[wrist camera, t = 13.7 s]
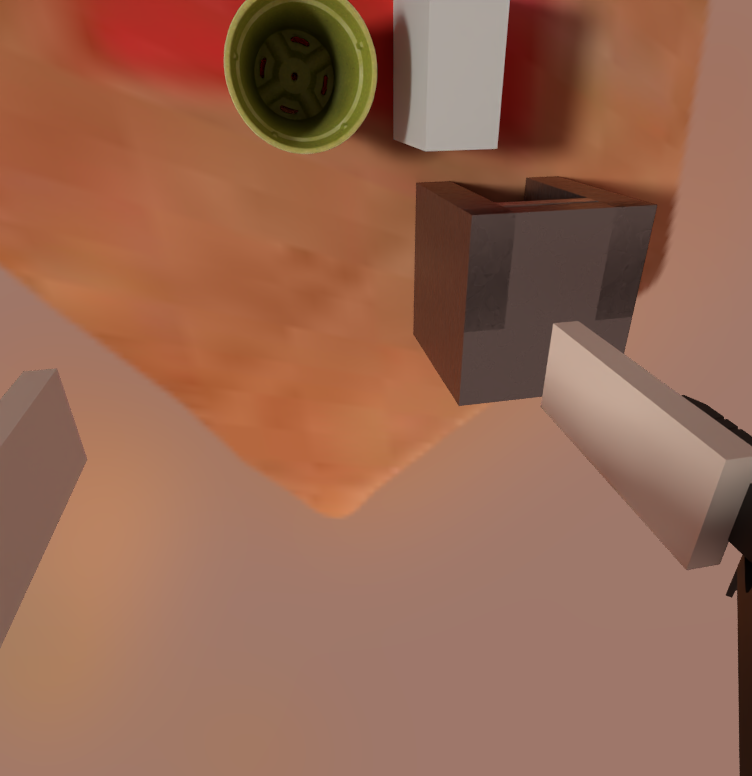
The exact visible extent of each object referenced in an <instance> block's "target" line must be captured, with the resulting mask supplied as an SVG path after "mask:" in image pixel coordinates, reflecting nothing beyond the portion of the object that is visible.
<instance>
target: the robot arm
mask: <svg viewBox="0 0 752 776" xmlns="http://www.w3.org/2000/svg"><path fill="white" fill-rule="evenodd" d="M541 408H542V409H543V410H544V411H545V412H546V413H547V414H548V415H549V417H550V418H551V419H552V420H553V421H554V422H555V423H556V424H557V426H558V427H559V428H560V429H561V430H562V431H563V432H564V433H565V435H566V436H567V437H568V438H569V439H570V440H571V441H572V442H573V444H574V445H575V446H576V447H577V448H578V449H579V450H580V451H581V452H582V454H583V455H584V456H585V457H586V458H587V459H588V460H589V462H590V463H591V464H592V465H593V466H594V467H595V468H596V469H597V470H598V472H599V473H600V474H601V475H602V476H603V477H604V478H605V479H606V481H607V482H608V483H609V484H610V485H611V486H612V487H613V488H614V489H615V491H616V492H617V493H618V494H619V495H620V496H621V497H622V499H623V500H624V501H625V502H626V503H627V504H628V505H629V506H630V507H631V509H632V510H633V511H634V512H635V513H636V514H637V515H638V516H639V518H640V519H641V520H642V521H643V522H644V523H645V524H646V525H647V526H648V527H649V529H650V530H651V531H652V532H653V533H654V534H655V535H656V537H657V538H658V539H659V540H660V541H661V542H662V543H663V545H664V546H665V547H666V548H667V549H668V550H669V551H670V552H671V553H672V555H673V556H674V557H675V558H676V559H677V560H678V561H679V562H680V564H681V565H682V566H683V567H684V568H685V569H686V570H690V569H696V568H702V567H707V566H713V565H718V564H720V562H721V560H722V557H723V555H724V552H725V550H726V547H727V544H728V542H730V543H731V544H732V545H733V546H734V547H735V548H737V550H738V551H740V552H741V553H742V554H743V555H742V557H741V560H740V562H739V564H738V567H737V569H736V572H735V574H734V576H733V579H732V581H731V583H730V586H729V588H728V591H727V593H726V596H729V597H732V596H733V594H734V592H735V591H736V590H737V605H738V676H739V677H738V678H739V758H740V776H752V437H751V436H750V435H749V434H748V433H746V432H745V431H743V430H742V429H738V426H736V425H735V424H733V423H732V422H731V421H729V420H728V419H725V420H724V417H723V416H722V415H720V414H719V413H718V412H716V411H715V410H713V409H712V408H711V407H709V406H708V405H706V404H704V403H701V402H699V401H697V400H694V399H692V398H690V397H687V396H685V395H680V394H679V393H677V392H676V391H674V390H673V389H672V388H670V387H669V386H667V385H666V384H665V383H663V382H662V381H661V380H659V379H658V378H656V377H655V376H654V375H652V374H650V373H649V372H648V371H647V370H645V369H644V368H643V367H641V366H640V365H638V364H637V363H636V362H634V361H633V360H631V359H630V358H629V357H627V356H626V355H625V354H623V353H622V352H620V351H619V350H618V349H616V348H615V347H614V346H612V345H611V344H609V343H608V342H607V341H605V340H604V339H602V338H601V337H600V336H598V335H597V334H596V333H594V332H593V331H591V330H590V329H589V328H587V327H586V326H584V325H583V324H582V323H580V322H579V321H573V322H562V323H553V329H552V335H551V342H550V349H549V355H548V362H547V368H546V375H545V382H544V388H543V395H542V402H541ZM86 461H87V457H86V454H85V451H84V448H83V445H82V442H81V439H80V436H79V433H78V430H77V427H76V424H75V421H74V418H73V415H72V412H71V409H70V406H69V403H68V400H67V397H66V394H65V391H64V388H63V385H62V382H61V379H60V376H59V373H58V370H57V369H46V370H34V371H23V373H22V374H21V375H20V376H19V377H18V379H17V380H16V381H15V382H14V383H13V385H12V386H11V387H10V388H9V389H8V391H7V392H6V393H5V394H4V395H3V397H2V398H1V399H0V647H1V645H2V643H3V641H4V639H5V637H6V634H7V632H8V630H9V628H10V626H11V624H12V621H13V619H14V617H15V615H16V613H17V611H18V608H19V606H20V604H21V602H22V600H23V598H24V595H25V593H26V591H27V589H28V587H29V585H30V582H31V580H32V578H33V576H34V574H35V572H36V569H37V567H38V565H39V563H40V561H41V559H42V556H43V554H44V552H45V550H46V548H47V546H48V543H49V541H50V539H51V537H52V535H53V533H54V530H55V528H56V526H57V524H58V522H59V519H60V517H61V515H62V513H63V511H64V509H65V506H66V504H67V502H68V500H69V498H70V496H71V494H72V491H73V489H74V487H75V485H76V483H77V481H78V478H79V476H80V474H81V472H82V470H83V467H84V465H85V463H86Z"/></svg>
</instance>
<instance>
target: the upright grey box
mask: <svg viewBox="0 0 752 776" xmlns="http://www.w3.org/2000/svg"><path fill="white" fill-rule="evenodd" d="M509 5H510V0H393V139H394V140H397V141H399V142H402V143H405V144H407V145H410V146H413V147H415V148H418V149H420V150H423V151H450V150H478V149H497V146H498V134H499V122H500V111H501V99H502V87H503V75H504V64H505V52H506V40H507V28H508V17H509Z"/></svg>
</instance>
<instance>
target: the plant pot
mask: <svg viewBox="0 0 752 776" xmlns="http://www.w3.org/2000/svg"><path fill="white" fill-rule="evenodd" d="M294 36H297V37H299V38H302V39H305V40H306V41H308V43H309V46H308V47H307V46H305V45H303V44H300V43H297V42H292V41H291V38H292V37H294ZM263 58H266V64H265V69H264V78H262V77H261V76H260V64H261V60H262V59H263ZM224 71H225V78H226V83H227V87H228V90H229V93H230V96H231V98H232V101H233V103H234V105H235V107H236V109H237V111H238V112H239V114H240V116H241V117H242V119H243V120H244V121H245V123H246V124H247V125H248V127H249V128H250V129H251V130H252V131H253V132H254V133H255V134H256V135H257V136H259V137H260V138H261V139H263V140H264V141H266V142H267V143H269V144H270V145H272V146H274V147H277V148H279V149H281V150H284V151H287V152H291V153H297V154H313V153H320V152H323V151H327V150H330V149H332V148H335V147H336V146H338V145H340V144H342V143H343V142H344V141H346V140H347V139H348V138H350V137H351V136H352V135H353V134H354V133H355V132H356V131H357V129H358V128H359V127H360V126H361V124H362V123H363V121H364V120H365V118H366V116H367V114H368V112H369V110H370V108H371V105H372V102H373V99H374V95H375V90H376V84H377V59H376V52H375V48H374V45H373V41H372V38H371V36H370V33H369V31H368V28H367V26H366V24H365V22H364V21H363V19H362V17H361V16H360V15H359V13H358V12H357V10H356V9H355V8H354V7H353V6H352V5H351V3H350V2H349V1H348V0H246V1H245V2H244V3H243V4H242V5H241V7H240V8H239V9H238V11H237V13H236V14H235V16H234V18H233V20H232V22H231V25H230V27H229V30H228V34H227V37H226V42H225V48H224ZM292 73H297V75H298V77H297V80H292V78H291V75H292ZM325 75H326V76H327V77H328V80H327V90H326V92H325V94H324V95H322V94H321V90H322V86H323V81H324V76H325ZM282 105H283V106H285V107H287V108H290V109H294V110H298V112H297V113H295V114H294V113H292V114H290V113H286V112H284V111H282V110H281V109H280V106H282Z"/></svg>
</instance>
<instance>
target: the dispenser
mask: <svg viewBox="0 0 752 776" xmlns="http://www.w3.org/2000/svg"><path fill="white" fill-rule="evenodd" d="M656 209H657V205H656V204H652V203H649V202H645V201H642V200H638V199H635V198H631V197H628V196H625V195H621V194H618V193H614V192H611V191H607V190H604V189H600V188H597V187H593V186H590V185H586V184H583V183H580V182H576V181H573V180H569V179H566V178H562V177H559V176H554V177H532V178H526V187H525V196H524V201H521V202H502V203H495V202H493V201H491V200H489V199H486V198H484V197H482V196H480V195H478V194H476V193H474V192H472V191H470V190H468V189H465V188H463V187H461V186H459V185H457V184H455V183H453V182H451V181H444V182H422V183H416V230H415V282H414V333H413V334H414V336H415V337H416V339H417V341H418V342H419V344H420V345H421V347H422V349H423V350H424V352H425V353H426V355H427V356H428V358H429V360H430V361H431V363H432V364H433V366H434V367H435V369H436V371H437V372H438V374H439V375H440V377H441V378H442V380H443V382H444V383H445V385H446V386H447V388H448V389H449V391H450V393H451V394H452V396H453V397H454V399H455V400H456V402H457V404H458V405H459V406H462V405H471V404H480V403H489V402H498V401H507V400H516V399H524V398H533V397H542V395H543V388H544V382H545V375H546V368H547V362H548V355H549V349H550V342H551V335H552V329H553V323H562V322H573V321H579V322H580V323H582V324H583V325H584V326H586V327H587V328H589V329H590V330H591V331H593V332H594V333H596V334H597V335H598V336H600V337H601V338H602V339H604V340H605V341H607V342H608V343H609V344H611V345H612V346H614V347H615V348H616V349H618V350H619V351H620V352H622V353H623V354H624V351H625V346H626V342H627V337H628V333H629V329H630V324H631V320H632V315H633V311H634V306H635V302H636V298H637V293H638V289H639V284H640V280H641V275H642V271H643V266H644V262H645V258H646V253H647V249H648V244H649V240H650V235H651V231H652V226H653V222H654V218H655V213H656Z"/></svg>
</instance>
